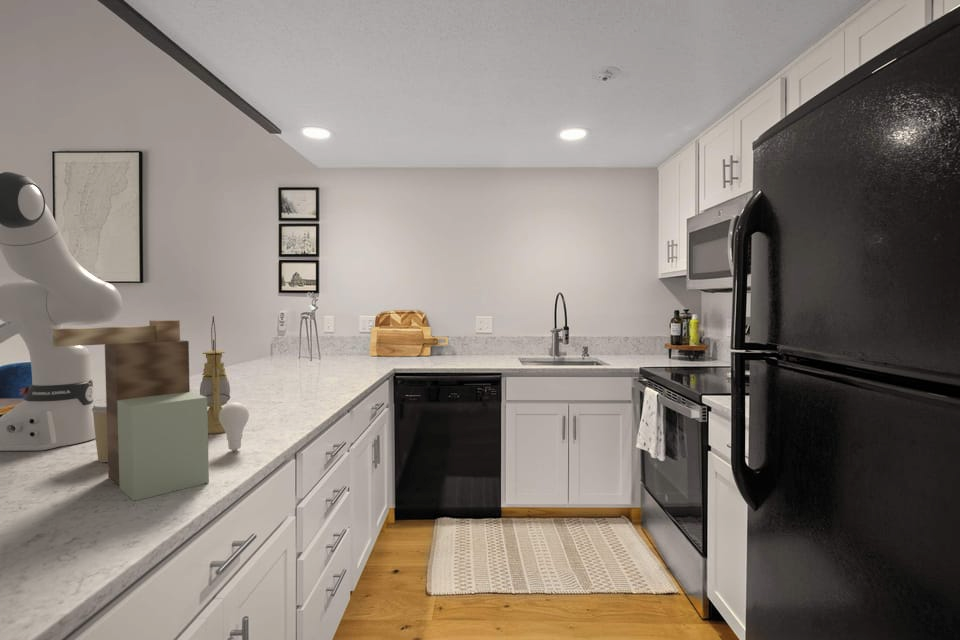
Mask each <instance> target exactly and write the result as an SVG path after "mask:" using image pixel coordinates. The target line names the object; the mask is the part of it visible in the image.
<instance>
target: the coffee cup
mask: <svg viewBox="0 0 960 640" xmlns="http://www.w3.org/2000/svg"><path fill="white" fill-rule="evenodd" d="M92 406H93V408H92V412H93V419H94V429H95V437H96V438H95V444H96V453H97V461H98V462H99V461H100V462H99V463H101V462H108V444H107V409H106V400H105V401H101V402H96V403H95V404H93V405H92Z"/></svg>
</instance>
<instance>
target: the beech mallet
mask: <svg viewBox="0 0 960 640" xmlns="http://www.w3.org/2000/svg"><path fill="white" fill-rule="evenodd" d="M180 325H181V323H180V320H179V319H178V320H176V319H160V320H159V319H157V320H156V319H155V320H152V319H151V320H149V325H136V326H135V325H132V326H100V327H97V326H96V327H72V328H71V327H68V328H67V327H65V328H64V327H63V329H53V346H55V347H64V346H100V345H105V344H122V343H142V342H166V341H180V340H181V330H180V329H181V327H180Z"/></svg>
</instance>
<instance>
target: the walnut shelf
mask: <svg viewBox="0 0 960 640" xmlns="http://www.w3.org/2000/svg"><path fill="white" fill-rule="evenodd" d="M189 343H190V342H189V340H184V339H180V341H166V342H142V343H122V344H104V365H105V368H104V369H105V370H104V371H105V372H104V373H105V401H106V409H107V444H108V463H107V472H108V473H107V474H108V475H107V477H109V478H110V479H111V480H112V481H113V482H114V483H113V482H112V481H111V480H110V479H109V478H108V479H109V480H110V481H111V482H112V483H113V484H115V485H116V486H117V487H118V486H119V487H118V488H119V489H120V483H119V446H118V410H117V400H124V399H132V398H141V397H149V396H157V395H166V394H174V393H183V392H191V391H190V347H189V345H190V344H189Z"/></svg>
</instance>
